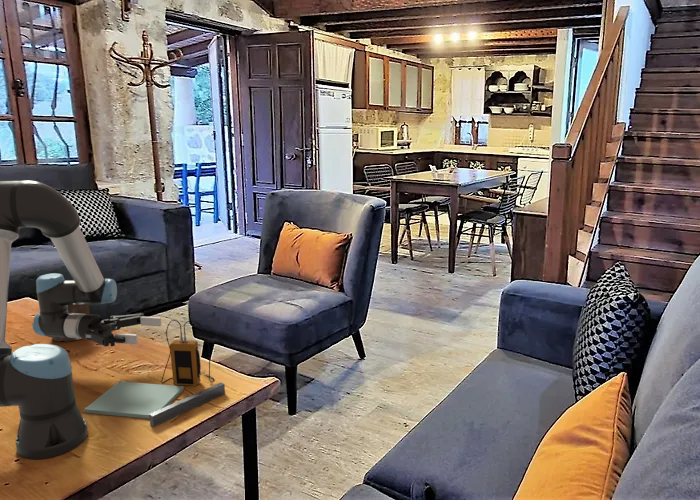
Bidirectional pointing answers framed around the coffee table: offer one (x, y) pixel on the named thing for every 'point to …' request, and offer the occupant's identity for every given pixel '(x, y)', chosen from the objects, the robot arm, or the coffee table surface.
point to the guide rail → (186, 404)
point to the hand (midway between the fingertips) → (149, 330)
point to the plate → (134, 399)
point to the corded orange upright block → (185, 360)
